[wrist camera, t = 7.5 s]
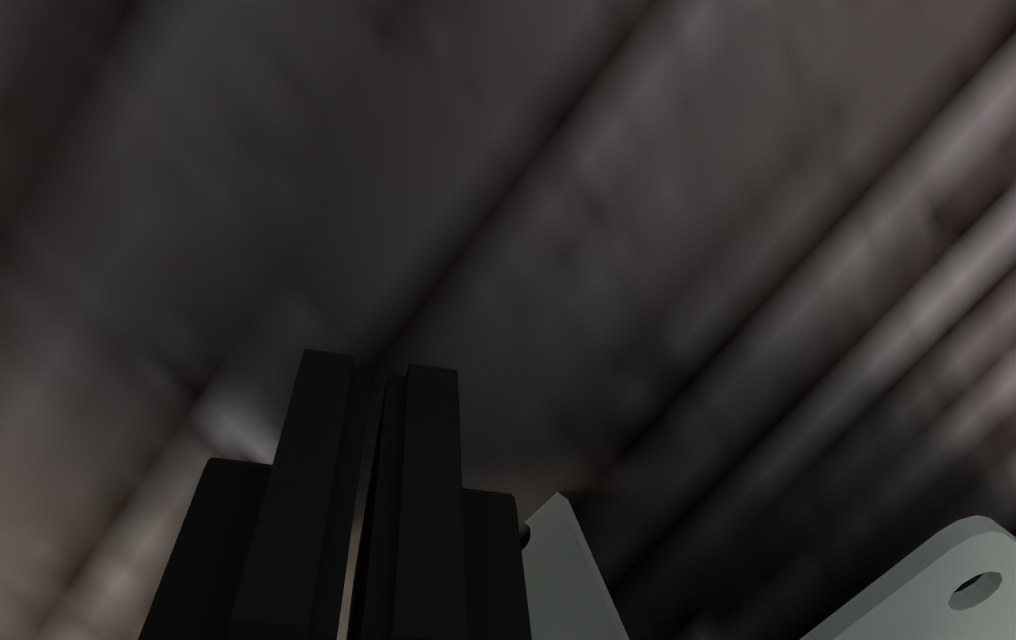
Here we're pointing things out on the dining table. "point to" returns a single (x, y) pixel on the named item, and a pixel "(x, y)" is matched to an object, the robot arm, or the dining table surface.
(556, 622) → the metal bracket
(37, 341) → the dining table surface
